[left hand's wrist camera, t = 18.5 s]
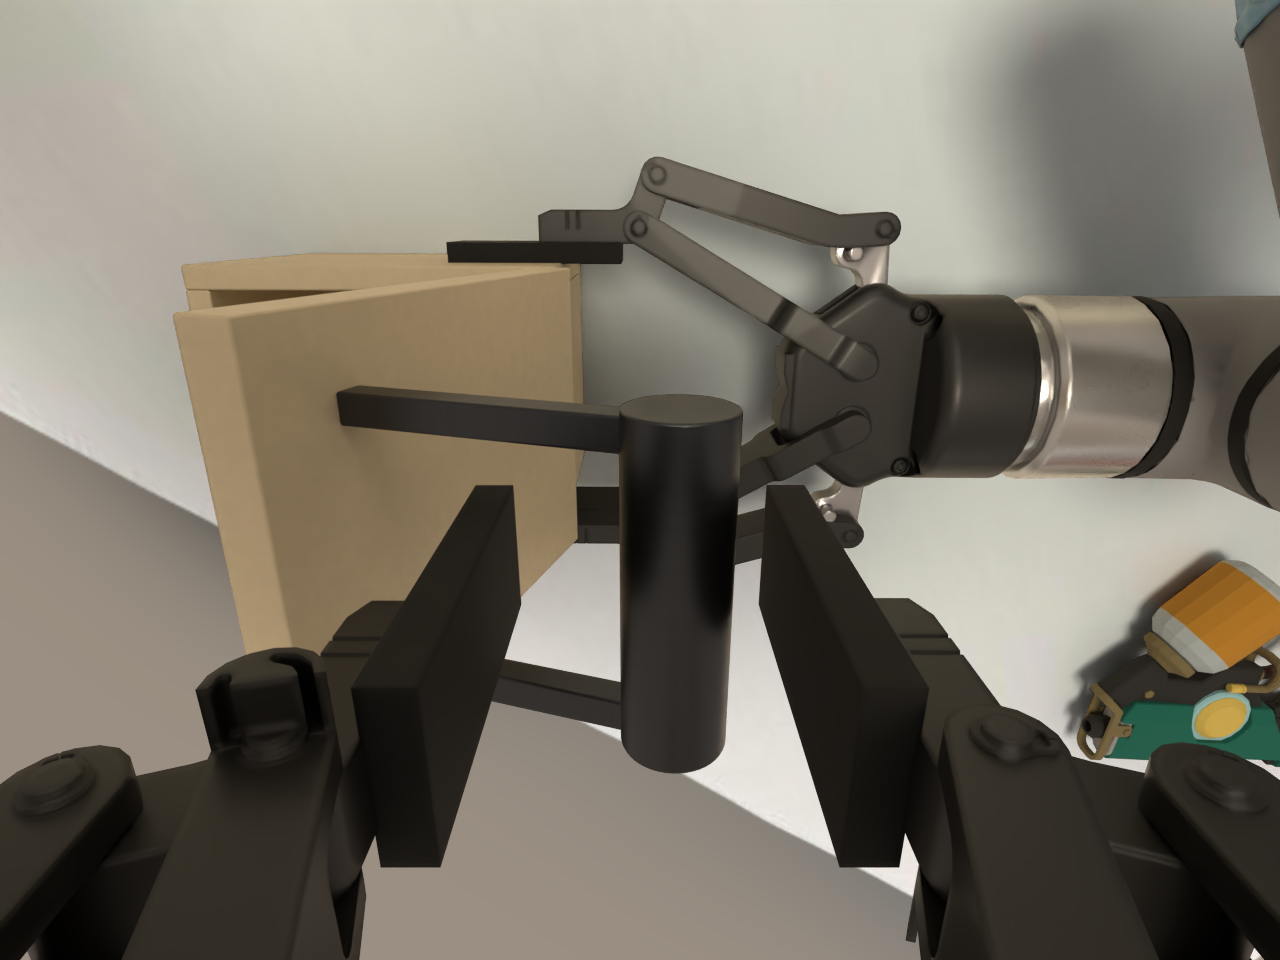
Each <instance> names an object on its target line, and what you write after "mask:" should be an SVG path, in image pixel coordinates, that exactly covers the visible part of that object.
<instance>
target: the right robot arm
mask: <svg viewBox="0 0 1280 960" xmlns="http://www.w3.org/2000/svg"><path fill="white" fill-rule="evenodd" d="M1235 4H1236V14H1237V24H1236V27H1235V30H1234V31H1235V35H1236V36H1235V40H1236V42H1237V43H1238V45H1239V47H1240V48H1244V51H1245V56H1246V61H1247V65H1248V70H1249V75H1250V80H1251V84H1252V89H1253V94H1254V98H1255V103H1256V108H1257V113H1258V117H1259V122H1260V127H1261V132H1262V136H1263V141H1264V146H1265V150H1266V155H1267V160H1268V165H1269V169H1270V174H1271V179H1272V184H1273V188H1274V193H1275V198H1276V202H1277V207H1278V212H1279V217H1280V0H1235ZM666 199H668V200H671V201H674V202H677V203H681V204H684V205H687V206H690V207H693V208H696V209H699V210H703V211H706V212H709V213H712V214H715V215H718V216H721V217H725V218H728V219H731V220H734V221H737V222H740V223H743V224H747V225H750V226H753V227H756V228H759V229H762V230H765V231H769V232H772V233H775V234H778V235H781V236H784V237H787V238H791V239H794V240H797V241H800V242H803V243H807V244H811V245H817V246H825V247H830V258H831V260H832V262H833V263H834V264H835V265H837V266H838V267H842V268H847V269H848V270H850V271H851V272H852V273H853V274H854V276H855V280H856V284H855V285H854V286H852V287H850V288H849V289H848V290H846V291H845V292H843V293H842V294H840V295H839V296H837V297H836V298H835V299H833V300H832V301H830V302H829V303H827V304H826V305H824V306H823V307H822V308H820V309H819V310H817V311H816V312H814V313H813V314H810V313H809V312H807V311H806V310H804V309H802V308H801V307H799V306H797V305H796V304H794V303H793V302H791V301H789V300H788V299H786V298H784V297H783V296H781V295H779V294H778V293H776V292H775V291H773V290H771V289H770V288H768V287H767V286H765V285H763V284H762V283H760V282H758V281H757V280H755V279H754V278H752V277H750V276H749V275H747V274H746V273H744V272H742V271H741V270H739V269H738V268H736V267H734V266H733V265H731V264H730V263H728V262H726V261H725V260H723V259H721V258H720V257H718V256H717V255H715V254H713V253H712V252H710V251H709V250H707V249H705V248H704V247H702V246H701V245H699V244H697V243H696V242H694V241H693V240H691V239H689V238H688V237H686V236H684V235H683V234H681V233H680V232H678V231H676V230H675V229H673V228H672V227H670V226H668V225H667V224H665V223H664V222H662V221H660V220H659V218H660V215H661V212H662V209H663V206H664V204H665V201H666ZM538 222H539V241H455V242H446V243H447V255H448V263H561V264H621V263H622V262H623V244H635V245H637V246H638V247H640V248H642V249H643V250H645V251H647V252H648V253H650V254H651V255H653V256H655V257H656V258H658V259H660V260H661V261H663V262H665V263H666V264H668V265H669V266H671V267H673V268H674V269H676V270H678V271H679V272H681V273H683V274H684V275H686V276H687V277H689V278H691V279H692V280H694V281H696V282H697V283H699V284H701V285H702V286H704V287H705V288H707V289H709V290H710V291H712V292H714V293H715V294H717V295H719V296H720V297H722V298H723V299H725V300H727V301H728V302H730V303H732V304H733V305H735V306H737V307H738V308H740V309H741V310H743V311H745V312H746V313H748V314H750V315H751V316H753V317H755V318H756V319H758V320H759V321H761V322H763V323H764V324H766V325H768V326H769V327H771V328H772V329H774V330H775V331H777V332H778V333H780V334H782V335H783V336H785V337H784V338H783V340H782V342H781V344H780V346H776V361H775V365H776V370H777V375H778V380H779V384H778V387H777V389H776V392H775V395H774V398H773V406H772V418H773V420H774V421H775V424H774V425H772V426H770V427H768V428H767V429H765V430H763V431H761V432H760V433H758V434H757V435H756V436H755V437H754V438H753V439H752V440H751V441H750V442H748V443H746V444H744V445H742V446H741V458H740V476H739V495H738V499H739V498H741V497H743V496H745V495H747V494H748V493H750V492H752V491H754V490H756V489H758V488H760V487H762V486H764V485H766V484H768V483H770V482H772V481H782V480H785V479H787V478H789V477H791V476H793V475H795V474H797V473H799V472H801V471H803V470H805V469H807V468H809V467H811V466H813V465H814V464H815V465H816V466H818V467H819V468H820V469H822V470H823V471H825V472H826V473H827V474H829V475H830V476H831V477H833V478H834V479H835V481H834V483H833V484H832V486H830V487H829V488H827V489H825V490H820V491H816V492H813V493H812V495H811V497H812V498H813V500H814V502H815V503H816V505H817V507H818V508H819V510H820V511H821V513H822V515H823V516H824V518H825V520H826V521H827V523H828V524H829V526H830V528H831V529H832V531H833V533H834V534H835V536H836V537H837V539H838V541H839V542H840V544H841V546H842V547H843V548H853V547H855V546H858V545H859V544H860V543H861V542H862V540H863V537H864V531H863V529H862V528H861V526H860V525H859V523H858V521H857V518H858V513H859V507H860V502H861V497H862V491H863V487H864V486H867V485H870V484H872V483H874V482H876V481H878V480H880V479H883V478H887V477H913V478H990V477H994V476H996V475H999V474H1000V473H1002V474H1003V475H1005V476H1007V477H1011V478H1015V479H1021V478H1104V477H1105V478H1167V479H1194V480H1201V481H1207V482H1211V483H1215V484H1218V485H1220V486H1222V487H1225V488H1227V489H1229V490H1231V491H1233V492H1236V493H1238V494H1240V495H1242V496H1244V497H1247V498H1249V499H1251V500H1253V501H1255V502H1257V503H1259V504H1262V505H1264V506H1266V507H1268V508H1271V509H1274V510H1277V511H1279V512H1280V296H1219V297H1150V298H1147V297H1142V296H1064V295H1027V296H1021V297H1019V298H1017V299H1015V300H1012V299H1011V298H1009V297H1007V296H1004V295H912V294H903V293H901V292H899V291H897V290H896V289H894V288H893V287H891V286H889V285H887V282H888V264H889V245H890V244H892V243H893V242H894V241H896V239H897V238H898V236H899V235H900V231H901V223H900V220H899V219H898V217H897V216H896V215H894V214H893V213H890V212H873V213H856V214H841V215H839V214H836V213H833V212H830V211H827V210H823V209H820V208H817V207H814V206H811V205H808V204H805V203H802V202H799V201H796V200H793V199H789V198H786V197H783V196H780V195H777V194H774V193H771V192H768V191H765V190H762V189H759V188H755V187H752V186H749V185H746V184H743V183H740V182H737V181H734V180H731V179H728V178H725V177H721V176H718V175H715V174H712V173H709V172H706V171H703V170H700V169H697V168H694V167H691V166H687V165H684V164H681V163H678V162H675V161H672V160H669V159H666V158H663V157H653V158H650V159H649V160H648V161H647V162H645V163H644V165H643V167H642V170H641V173H640V176H639V179H638V182H637V185H636V188H635V191H634V194H633V196H632V199H631V200H630V202H629V203H628V204H627V205H626V206H624V207H623V208H620V209H617V210H550V211H547V212H545V213H543V214H540V215H538ZM576 499H577V533H578V538H577V540H576V541H575V542H574V543H617V544H620V509H619V487H576ZM764 517H765V508H763V509H759V510H756V511H752V512H748V513H744V514H740V515H737V532H736V550H735V565H736V564H740V563H744V562H748V561H752V560H756V559H760V558H762V548H763V533H764Z"/></svg>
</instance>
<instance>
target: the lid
mask: <svg viewBox="0 0 1280 960" xmlns="http://www.w3.org/2000/svg"><path fill="white" fill-rule="evenodd" d="M173 320H174V324H175V329H176V333H177V338H178V343H179V347H180V352H181V356H182V361H183V366H184V370H185V375H186V380H187V384H188V389H189V393H190V398H191V403H192V407H193V412H194V416H195V421H196V426H197V430H198V435H199V440H200V444H201V449H202V453H203V458H204V463H205V467H206V472H207V476H208V481H209V486H210V490H211V495H212V500H213V504H214V509H215V513H216V518H217V523H218V527H219V532H220V536H221V541H222V546H223V550H224V555H225V559H226V564H227V569H228V573H229V578H230V583H231V587H232V592H233V596H234V601H235V606H236V610H237V615H238V619H239V624H240V628H241V633H242V638H243V643H244V647H245V652H246V655H247V654H250V653H254V652H258V651H263V650H267V649H272V648H285V647H298V648H302V649H307V650H311V651H314V652H315V653H317V654H318V655H319V656H320V655H321V652H322V650H323V649H324V648H325V646H326V645H327V644H328V642H329V641H332V639H333V638H332V637H333V635H334V634H335V633H336V631H337V630H338V629H339V627H340V626H341V624H342V623H343V622H344V620H345V619H346V618H347V617H348V616H349V615H351V614H352V613H354V612H355V611H357V610H358V609H360V608H361V607H363V606H364V605H366V604H367V603H369V602H370V601H405V599H406V597H407V596H408V594H409V593H410V591H411V589H412V588H413V586H414V584H415V583H416V581H417V580H418V578H419V576H420V575H421V573H422V571H423V570H424V568H425V567H426V565H427V563H428V562H429V560H430V558H431V557H432V555H433V554H434V552H435V550H436V549H437V547H438V546H439V544H440V542H441V541H442V539H443V537H444V536H445V534H446V533H447V531H448V529H449V528H450V526H451V524H452V523H453V521H454V520H455V518H456V516H457V515H458V513H459V511H460V510H461V508H462V507H463V505H464V503H465V502H466V500H467V498H468V497H469V495H470V494H471V492H472V490H473V489H474V487H475V485H513V487H514V502H515V517H516V533H517V548H518V563H519V578H520V593H521V596H522V595H523V594H524V593H525V592H526V591H527V590H528V589H529V588H530V587H531V586H532V585H533V584H534V583H535V582H536V581H537V580H538V579H539V578H540V577H541V576H542V575H543V574H544V573H545V572H546V571H547V570H548V569H549V568H550V566H551V565H552V564H553V563H554V562H555V561H556V560H557V559H558V558H559V557H560V556H561V555H562V554H563V553H564V552H565V551H566V550H567V549H568V548H569V547H570V546H571V545H572V544H573V543H574V542H575V541H576V540H577V538H578V533H577V499H576V465H575V450H585V451H594V452H604V453H614V454H619V509H620V650H621V682H617V681H612V680H607V679H602V678H597V677H592V676H587V675H582V674H577V673H572V672H567V671H562V670H557V669H552V668H547V667H542V666H537V665H532V664H527V663H522V662H517V661H512V660H507V659H504V662H503V665H502V668H501V672H500V675H499V678H498V681H497V685H496V688H495V691H494V694H493V698H492V701H493V702H498V703H502V704H507V705H511V706H516V707H520V708H525V709H529V710H534V711H539V712H543V713H547V714H552V715H556V716H561V717H566V718H570V719H575V720H579V721H584V722H588V723H593V724H597V725H602V726H606V727H611V728H615V729H620V730H621V739H622V743H623V746H624V748H625V750H626V751H627V753H628V754H629V755H630V756H631V757H632V758H633V759H634V760H635V761H636V762H638V763H639V764H641V765H643V766H644V767H647V768H649V769H652V770H655V771H659V772H664V773H687V772H692V771H696V770H699V769H701V768H704V767H706V766H707V765H709V764H711V763H712V762H713V761H714V760H716V758H717V757H718V756H719V755H720V753H721V752H722V750H723V748H724V745H725V735H726V717H727V698H728V680H729V661H730V643H731V624H732V606H733V587H734V569H735V550H736V532H737V513H738V495H739V476H740V458H741V439H742V421H743V411H742V409H741V407H739V406H738V405H737V404H735V403H732V402H730V401H727V400H723V399H719V398H715V397H709V396H700V395H686V394H668V395H654V396H647V397H641V398H637V399H633V400H630V401H628V402H626V403H624V404H622V405H621V407H617V406H605V405H592V404H580V403H574V397H573V362H572V328H571V294H570V269H569V268H554V267H536V268H528V269H520V270H512V271H504V272H496V273H488V274H480V275H472V276H464V277H456V278H448V279H440V280H432V281H424V282H416V283H408V284H400V285H392V286H384V287H376V288H368V289H360V290H352V291H344V292H336V293H328V294H320V295H312V296H304V297H296V298H288V299H280V300H272V301H264V302H256V303H248V304H240V305H232V306H224V307H216V308H208V309H200V310H192V311H184V312H177V313H175V314H173Z"/></svg>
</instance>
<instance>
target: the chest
mask: <svg viewBox="0 0 1280 960" xmlns="http://www.w3.org/2000/svg"><path fill="white" fill-rule="evenodd" d="M536 267H554V268H569V269H570V294H571V328H572V362H573V397H574V403H580V404H584V402H583V361H582V320H581V279H580V264H561V263H448V255H447V254H332V253H309V254H298V255H287V256H276V257H265V258H254V259H243V260H232V261H221V262H210V263H198V264H187V265H183V266H182V267H181V268H182V273H183V278H184V282H185V287H186V289H188V290H187V291H186V294H187V298H188V303H189V308H190V311H192V310H200V309H208V308H216V307H224V306H232V305H240V304H248V303H256V302H264V301H272V300H280V299H288V298H296V297H304V296H312V295H320V294H328V293H336V292H344V291H352V290H360V289H368V288H376V287H384V286H392V285H400V284H408V283H416V282H424V281H432V280H440V279H448V278H456V277H464V276H472V275H480V274H488V273H496V272H504V271H512V270H520V269H528V268H536ZM584 452H585V450H575V465H576V484H577V480H578V476H579V472H580V468H581V464H582V460H583V455H584Z"/></svg>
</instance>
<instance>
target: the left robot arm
mask: <svg viewBox="0 0 1280 960" xmlns="http://www.w3.org/2000/svg"><path fill="white" fill-rule="evenodd" d="M520 607H521V593H520V578H519V563H518V548H517V533H516V517H515V502H514V487H513V485H475V487H474V489H473V490H472V492H471V494H470V495H469V497H468V498H467V500H466V502H465V503H464V505H463V507H462V508H461V510H460V511H459V513H458V515H457V516H456V518H455V520H454V521H453V523H452V524H451V526H450V528H449V529H448V531H447V533H446V534H445V536H444V537H443V539H442V541H441V542H440V544H439V546H438V547H437V549H436V550H435V552H434V554H433V555H432V557H431V558H430V560H429V562H428V563H427V565H426V567H425V568H424V570H423V571H422V573H421V575H420V576H419V578H418V580H417V581H416V583H415V584H414V586H413V588H412V589H411V591H410V593H409V594H408V596H407V597H406V599H405V601H370V602H369V603H367V604H366V605H364V606H363V607H361V608H360V609H358V610H357V611H355V612H354V613H352V614H351V615H349V616H348V617H347V618H346V619H345V620H344V622H343V623H342V624H341V626H340V627H339V629H338V630H337V631H336V633H335V634H334V635H333V637H332V638H333V639H332V641H329V642H328V644H327V645H326V646H325V648H324V649H323V650H322V652H321V655H320V656H319V655H318V654H317V653H315V652H314V651H311V650H307V649H302V648H298V647H285V648H272V649H267V650H263V651H258V652H254V653H250V654H247V655H245V656H242V657H240V658H237V659H235V660H233V661H230V662H228V663H226V664H224V665H223V666H221V667H220V668H218V669H217V670H215V671H214V672H212V673H211V674H209V675H208V676H207V677H206V678H205V679H204V680H203V682H202V683H201V684H200V685H199V686H198V687H197V689H196V694H197V698H198V702H199V706H200V709H201V713H202V717H203V721H204V725H205V729H206V732H207V736H208V740H209V744H210V748H211V753H210V755H209V757H208V760H204V761H201V762H197V763H194V764H190V765H185V766H180V767H176V768H171V769H166V770H162V771H157V772H153V773H148V774H144V775H139V776H136V774H135V771H134V768H133V765H132V761H131V758H130V756H128V755H127V754H126V753H125V752H124V751H122V750H121V749H120V748H116V747H109V746H102V745H98V746H90V747H82V748H75V749H71V750H68V751H64V752H61V753H59V754H58V753H57V754H54V755H51V756H49V757H46V758H44V759H42V760H40V761H38V762H36V763H34V764H32V765H30V766H28V767H26V768H24V769H22V770H20V771H18V772H16V773H15V774H14V775H12V776H11V777H10V778H8V779H7V780H6V781H4V782H3V783H1V784H0V960H20V959H21V958H22V957H23V956H24V954H25V953H26V952H28V954H29V956H30V959H31V960H359V957H360V948H361V939H362V929H363V920H364V911H365V902H366V892H365V884H364V878H363V872H362V865H363V862H364V860H365V858H366V855H367V853H368V851H369V848H370V846H371V844H372V841H373V839H374V837H375V836H376V842H377V848H378V854H379V860H380V866H381V867H441V863H442V860H443V857H444V853H445V850H446V847H447V844H448V840H449V837H450V834H451V831H452V828H453V824H454V821H455V818H456V815H457V811H458V808H459V805H460V802H461V798H462V795H463V792H464V788H465V785H466V782H467V779H468V776H469V772H470V769H471V766H472V763H473V759H474V756H475V753H476V750H477V746H478V743H479V740H480V737H481V733H482V730H483V727H484V724H485V720H486V717H487V714H488V711H489V707H490V704H491V701H492V698H493V694H494V691H495V688H496V685H497V681H498V678H499V675H500V672H501V668H502V665H503V662H504V659H505V655H506V652H507V649H508V646H509V642H510V639H511V636H512V633H513V629H514V626H515V623H516V620H517V616H518V613H519V610H520ZM759 607H760V610H761V613H762V616H763V620H764V623H765V626H766V629H767V633H768V636H769V639H770V642H771V646H772V649H773V652H774V655H775V659H776V662H777V665H778V668H779V672H780V675H781V678H782V681H783V685H784V688H785V691H786V694H787V698H788V701H789V704H790V707H791V711H792V714H793V717H794V720H795V724H796V727H797V730H798V733H799V737H800V740H801V743H802V746H803V750H804V753H805V756H806V759H807V763H808V766H809V769H810V772H811V776H812V779H813V782H814V785H815V789H816V792H817V795H818V798H819V802H820V805H821V808H822V811H823V815H824V818H825V821H826V824H827V828H828V831H829V834H830V837H831V841H832V844H833V847H834V850H835V854H836V857H837V860H838V863H839V867H899V866H900V860H901V854H902V848H903V842H904V836H905V833H906V836H907V838H908V840H909V843H910V845H911V847H912V850H913V852H914V854H915V856H916V859H917V861H918V863H919V867H918V872H917V878H916V883H915V889H914V894H913V900H912V905H911V911H910V917H909V922H908V929H907V935H906V941H910V942H916V936H917V931H918V936H919V946H920V955H921V960H1252V959H1251V958H1250V956H1251V954H1252V952H1253V949H1254V948H1255V949H1256V950H1257V951H1258V953H1259V954H1260V955H1261V956H1262V958H1263V959H1264V960H1280V780H1279V779H1277V778H1276V777H1275V776H1273V775H1272V774H1271V773H1269V772H1268V771H1266V770H1265V769H1264V768H1261V767H1259V766H1257V765H1255V764H1253V763H1251V762H1249V761H1247V760H1245V759H1243V758H1241V757H1240V756H1238V755H1236V754H1233V753H1230V752H1228V751H1225V750H1220V749H1218V748H1214V747H1210V746H1207V745H1199V744H1192V743H1184V742H1178V743H1171V744H1164V745H1161V746H1160V747H1158V748H1157V749H1156V750H1155V751H1153V752H1152V753H1151V755H1150V758H1149V761H1148V765H1147V768H1146V771H1145V773H1142V772H1137V771H1133V770H1128V769H1123V768H1119V767H1114V766H1109V765H1105V764H1100V763H1095V762H1091V761H1087V760H1083V759H1080V758H1076V757H1073V756H1071V754H1070V751H1069V750H1068V748H1067V747H1066V745H1065V744H1064V743H1063V741H1062V740H1061V738H1060V737H1059V736H1058V734H1056V733H1055V732H1054V731H1052V730H1051V729H1050V728H1048V727H1047V726H1046V725H1045V724H1043V723H1042V722H1041V721H1039V720H1037V719H1035V718H1033V717H1031V716H1028V715H1026V714H1024V713H1022V712H1020V711H1018V710H1014V709H1011V708H1007V707H1003V706H1001V705H1000V704H999V703H998V701H997V700H996V699H995V697H994V696H993V695H992V693H991V692H990V691H989V689H988V688H987V686H986V685H985V684H984V682H983V681H982V680H981V678H980V677H979V676H978V674H977V673H976V672H975V670H974V669H973V668H972V666H971V665H970V663H969V662H968V661H967V659H966V658H965V657H964V655H960V650H959V649H958V647H957V646H956V645H955V643H954V642H953V641H952V639H951V638H948V634H947V632H946V631H945V630H944V628H943V627H942V626H941V624H940V623H939V622H938V620H937V619H936V618H935V616H934V615H933V614H931V613H930V612H928V611H927V610H925V609H924V608H922V607H921V606H919V605H918V604H916V603H915V602H913V601H912V600H910V599H909V598H874V597H873V596H872V594H871V593H870V591H869V589H868V588H867V586H866V584H865V583H864V581H863V580H862V578H861V576H860V575H859V573H858V571H857V570H856V568H855V567H854V565H853V563H852V562H851V560H850V558H849V557H848V555H847V554H846V552H845V550H844V549H843V547H842V546H841V544H840V542H839V541H838V539H837V537H836V536H835V534H834V533H833V531H832V529H831V528H830V526H829V524H828V523H827V521H826V520H825V518H824V516H823V515H822V513H821V511H820V510H819V508H818V507H817V505H816V503H815V502H814V500H813V498H812V497H811V495H810V494H809V492H808V490H807V489H806V487H805V485H767V487H766V502H765V517H764V533H763V548H762V563H761V578H760V593H759Z"/></svg>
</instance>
